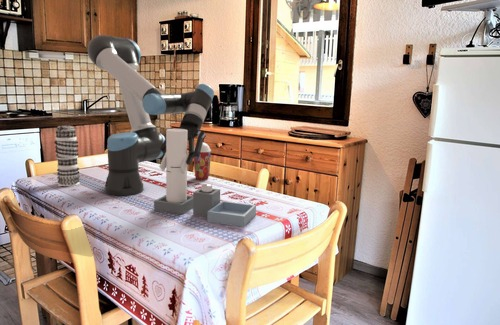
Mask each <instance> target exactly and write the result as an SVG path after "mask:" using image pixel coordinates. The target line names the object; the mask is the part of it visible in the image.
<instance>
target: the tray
mask: <svg viewBox="0 0 500 325" xmlns="http://www.w3.org/2000/svg"><path fill="white" fill-rule="evenodd" d="M255 216H257V205H256V204H249V203H242V202H234V201H233V202H232V201H226V200H225V201H224V200H220V203H219V204H217V205H216V206H214V207H213V208H212V209H210V210H209V211H207V218H206V221H207V222H208V223H214V224H222V225H228V226H235V227H241V228H245V227H246V226H247V224H249V223H250V221H252V220H253V219H254V218H255Z"/></svg>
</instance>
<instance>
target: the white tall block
mask: <svg viewBox="0 0 500 325" xmlns="http://www.w3.org/2000/svg"><path fill="white" fill-rule="evenodd" d="M187 133H188V130H186V129H178V128H173V129H171V128H167V129H166V134H165V135H166V136H165V137H166V138H165V139H166V168H165V170H166V172H165V173H166V176H165V178H166V180H165V181H166V183H165V184H166V185H165V187H166V188H165V193H166V194H165V195H166V201H168V202H173V203H181V202H185V201H186V200H187V195H188V189H187V188H188V184H187V183H188V168H187V169H186V171H185V174H182V172H181V170H180V168H181V165H182V163H183V160H184V158H185V155H186V154H188V140H187Z"/></svg>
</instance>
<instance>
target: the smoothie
mask: <svg viewBox="0 0 500 325" xmlns="http://www.w3.org/2000/svg"><path fill="white" fill-rule="evenodd" d="M195 147H196V145H194V150H195ZM211 156H212V149H211V147H210V146H209V145H208V143H206V142H204V141H203V143H202V147H201V151H200V156H199V157H194V158H193V165H194V166H193V167H194V177H195V179H196V180H199V181H206V180H208V179H209V177H210V171H211Z"/></svg>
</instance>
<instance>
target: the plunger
mask: <svg viewBox="0 0 500 325" xmlns="http://www.w3.org/2000/svg"><path fill="white" fill-rule="evenodd" d="M201 188H202V192H204V193H212V189H213V184H211V183H203V184H201Z"/></svg>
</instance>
